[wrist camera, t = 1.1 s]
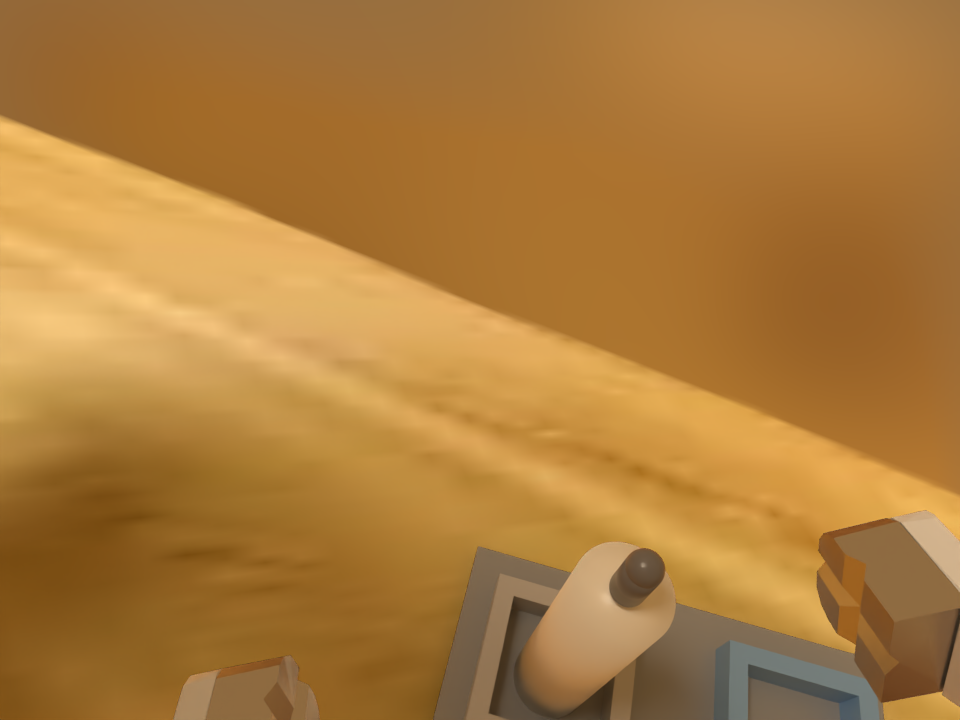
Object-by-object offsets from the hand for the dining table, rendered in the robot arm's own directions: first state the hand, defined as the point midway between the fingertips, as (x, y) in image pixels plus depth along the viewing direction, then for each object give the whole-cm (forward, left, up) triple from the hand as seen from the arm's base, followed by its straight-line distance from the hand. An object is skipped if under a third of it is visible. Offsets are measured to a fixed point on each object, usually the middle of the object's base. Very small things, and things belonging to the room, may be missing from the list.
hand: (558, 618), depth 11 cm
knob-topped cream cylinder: (+5, +7, -29) cm, 30 cm away
